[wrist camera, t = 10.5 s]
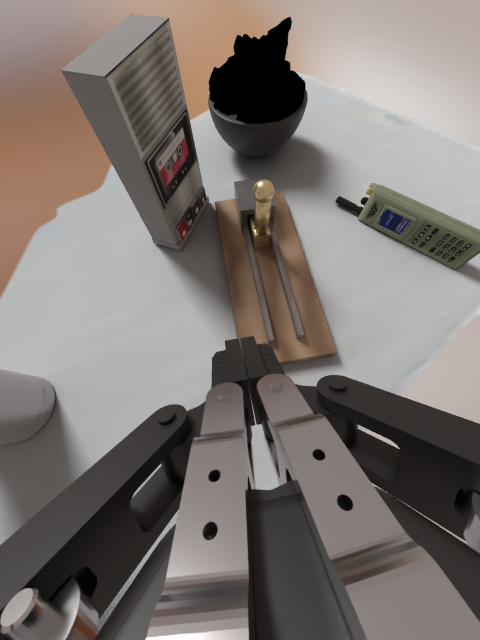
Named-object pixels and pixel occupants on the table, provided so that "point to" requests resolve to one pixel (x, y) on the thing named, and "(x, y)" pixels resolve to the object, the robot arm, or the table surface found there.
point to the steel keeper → (248, 201)
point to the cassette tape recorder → (143, 123)
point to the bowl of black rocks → (257, 94)
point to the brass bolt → (261, 213)
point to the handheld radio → (417, 226)
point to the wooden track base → (273, 287)
